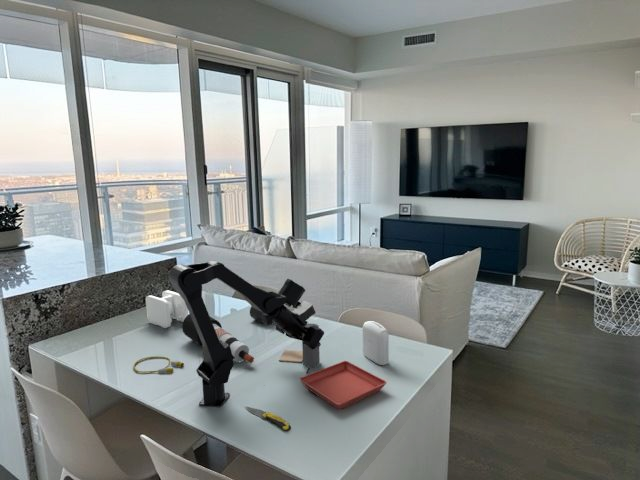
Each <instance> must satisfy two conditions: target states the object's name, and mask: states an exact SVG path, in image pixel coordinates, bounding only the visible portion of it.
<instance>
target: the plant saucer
mask: <svg viewBox="0 0 640 480" xmlns="http://www.w3.org/2000/svg"><path fill="white" fill-rule="evenodd" d="M299 381H300V383H302V385H303V386H304V387H306V388H307V390H309V391H311V392H312V393H314V394H315V395H317V396H318V397H320V398H321V399H322V400H324V401H326V402H328V403H329V404H330V405H332V406H333V407H335V408H336V409H339V410H341V409H343V408H347V407H348V406H350V405H352V404H355V403H357V402H359V401H361V400H363V399H365V398H368V397H369V396H371V395H374V394H377V393H378V392H379V391H380V390H382V389H383V388H384V387H385V385H386V384H387V381H386V380H384V379H382V378H381V377H378V375H377V376H376V375H374V374H373V373H372V372H369V371H367V370H366V369H363V368H361V367H359V366H358V365H355V364H354V363H352V362H350V361H348V360H344V361H341V362H338V363H336V364H333V365H330V366H327V367H326V368H323V369H319V370H317V371H315V372H312V373H308V374H306V375H304V376H302V377H300V378H299Z"/></svg>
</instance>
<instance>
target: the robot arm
mask: <svg viewBox="0 0 640 480" xmlns="http://www.w3.org/2000/svg"><path fill="white" fill-rule="evenodd" d="M167 278H168V281H169V282H170V284H171V285H172V286H173V289H174V290H175V291H176V293H179V295H180V296H181V297H182V298H183V300H184V301H185V303H186V306H187V308H188V314H190V315H191V318H192V320H193V323H194V325H195V327H196V330H197V332H198V335H199V337H200V339H201V342H202V344H203V347H202V359H203V360H202V361H201V363H200V364H199V365H198V368H196V369H195V372H196V373H197V375H198V377H200V378H201V379H202V380H201V382H202V394H203V395H202V397H201V399H200V400H199V402H198V405H199V406H206V407H216V408H221V407H222V406H223V405H224V404H225V402H226V401H227V399H228V398H229V397H230V395H231V394H230V392H225V384H227V383H229V379H230V375H231V371H232V370H233V368H234V365H235V361H234V360H233V359H235V357H234V356H233V355H232V352H231V348H230V346H229V345H228V344H226V343H225V342H223V341H222V340H219V339H218V336H217V334H216V331H215V329H214V326H213V324H212V321H211V319H210V317H211V316H210V314H209V311H208V309H207V307H206V304H205V302H204V299H203V285H205V284H206V285H207V284H208V283H211V282H212V281H213V280H216V279H217V280H218V281H220V282H221V283H223V284H224V285H226V286H228V287H229V288H230V289H232V290H234V291H235V292H237V293H238V294H240V295H241V296H242V297H243V299H245V300H246V302H247V303H248V305H250V306H252V307H253V308H255V309H257V310H259V311H261V312H263V313H264V314H262V321H261V322H262V323H263V324H265V325H267V326H270V325H271V324H270V323H271V321H273V322H274V323H273V324H275V330H276V331H278V333H281V334H282V335H285V336H286V337H288V338H290V339H294V340H299V341H301V343H303V345H305V346H307V347H309V348H311V349H315V348H316V347H319V348H320V347H321V345H322V344H321V342H320V341H321V340H322V339H323V336H324V335H325V331H324V330H323V329H322V328H320V327H319V328H318V327H316V326H314V325H313V326H310V327H308V328H307V327H305V326H306V324H309V322H308V321H307V320H309V319H310V318H311V317H312V316H314V315H315V314H316V310H315V308H314V305H313V304H312V303H311V302H308V301H303V300H301V301H300V299H301V298H302V297H303V295H304V294H305V292H306V289H305V288H304V287H303V286H302V285H299V284H298V283H297V282H296V281H294V280H292V279H290V278H287V279H286V280H285V281H284V284H283V285H282V287H281V288H280V290H278V292H276V291H273V290H272V291H266V290H264V289H261V288H259V287H256V286H254V285H253V284H251V283H250V282H249V281H247V280H246V279H244V278H242V277H241V276H239V275H238V274H237V273H235V272H234V271H232V270H231V269H229V268H228V267H227V266H225V264H223V263H221V262H220V261H216V260H209V261H206V262H199V263H190V264H187V265H186V264H184V263H179V264H175V265H174V266H172V268H171V269H170V271H169V273H168V277H167ZM291 307H292V310H290V309H289V308H291ZM302 334H303V335H304V337H303V339H302Z"/></svg>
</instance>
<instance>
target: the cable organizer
mask: <svg viewBox="0 0 640 480" xmlns="http://www.w3.org/2000/svg"><path fill="white" fill-rule="evenodd" d="M161 296H162V297H158V296H154V295H146V297H145V306H146V315H147V316H146V317H147V320H148V321H149V323H151V324H152V325H155V326H159V327H161V328H163V329H168V328H170V327H171V325H172V324H173V319H174V320H177V321H178V322H182V323H183V321H184V319H185V318H186V316H187V315H189V311H188V308H187V306H186V303H185V301H184V300H183V298H182V297H181V296H180V295H179V293H178V292H177V291H176V292H175V291H171V290H168V289H167V290H164V291H162V293H161Z"/></svg>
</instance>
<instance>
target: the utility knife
mask: <svg viewBox="0 0 640 480" xmlns="http://www.w3.org/2000/svg"><path fill="white" fill-rule="evenodd" d="M245 408H246V410H247V411H249V412H250V413H252V414H253V415H256V416H258V417H260V418H261V420H266V421H268V422H269V423H270V424H272V425H274V426H276V427H277V428H279V429H280V430H282V431H284V432H285V433H286V432H289V430H291V428H292V426H291V425H290V423H288V422H287V421H286V420H285V419H283V418H282V417H281V416H278V415H276V414H274V413H271V412H269V411H264V410H262V409H258V408H256V407H255V408H254V407H250V406H246V405H245Z"/></svg>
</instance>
